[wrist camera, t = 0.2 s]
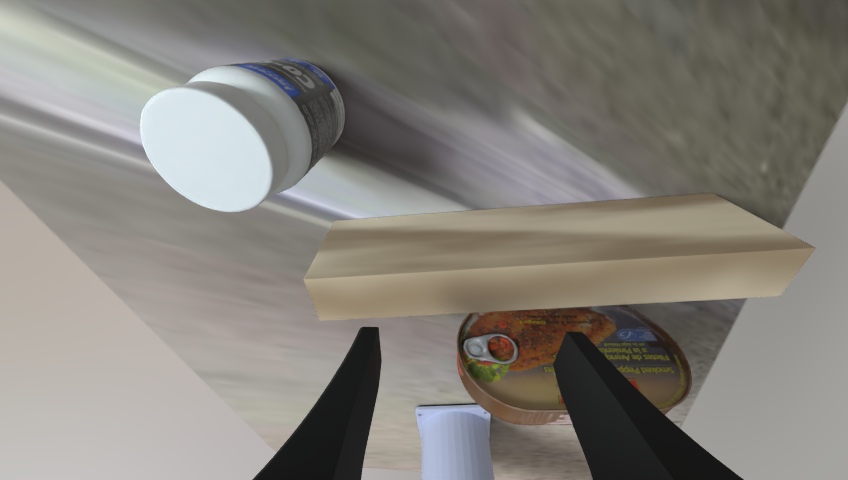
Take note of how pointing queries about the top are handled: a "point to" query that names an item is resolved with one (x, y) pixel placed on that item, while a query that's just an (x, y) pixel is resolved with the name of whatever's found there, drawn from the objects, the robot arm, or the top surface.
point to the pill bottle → (242, 131)
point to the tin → (537, 349)
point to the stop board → (551, 258)
